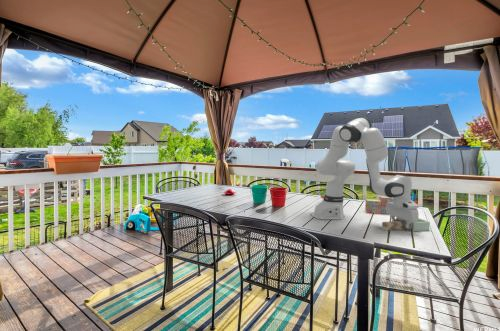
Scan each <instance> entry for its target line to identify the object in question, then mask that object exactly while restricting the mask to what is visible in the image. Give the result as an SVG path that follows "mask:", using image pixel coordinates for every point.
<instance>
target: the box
mask: <svg viewBox="0 0 500 331" xmlns="http://www.w3.org/2000/svg"><path fill="white" fill-rule="evenodd" d="M396 218H398V217H396V216H395V219H396ZM399 219H401V218H399ZM402 220H403V219H402ZM430 225H431V222H430V221H428V220H425V219H422V218H419V217H418V221H417V222H415V223H413V229H411V231H412V232H427V231H430Z"/></svg>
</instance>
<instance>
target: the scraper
mask: <svg viewBox="0 0 500 331" xmlns="http://www.w3.org/2000/svg"><path fill="white" fill-rule="evenodd" d="M395 220H396V221H392V220H391V221H390V220H389V221H382V223H381V224H382V226H381V229H382V230H385V231H396V230H397V231H398V230H404V231H408V232H410V231H412V229H411V224H410V225H409V228H405V227H404V225H405V224H406V223H407V222H406V221H404V220H402V219H399V218H396V217H395Z"/></svg>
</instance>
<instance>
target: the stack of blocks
mask: <svg viewBox="0 0 500 331" xmlns="http://www.w3.org/2000/svg"><path fill="white" fill-rule="evenodd" d="M378 196H379V197H378V199H374V198H373V199H372V198H371V199H369V198H365V207H364V209H365V210H364V211H365V213H367V214H373V213H374V214H377V215H387V213H386V206H387V203H388V200H389V199H392V200H393V198H389V197H386V196H382V195H378ZM388 215H389V216H391V215H390V214H388Z"/></svg>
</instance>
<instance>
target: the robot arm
mask: <svg viewBox="0 0 500 331" xmlns="http://www.w3.org/2000/svg"><path fill="white" fill-rule="evenodd" d="M358 142H361V143H362V145H363V148H364V152H365V154H366V155H365V156H366V159H365V160H366V162H365V163H366V167H367V172H368V177H369V190H370V192H371V193H372V194H374V195H378V196H386V197H389V198H393V200H392V199H389V200H388V203H387V206H386V213H387V214H390V215H389V216H390V218H391V221H396V217H398V218H401V219H404V220H406V222H407V223H406V224H405V225H404V227H405V228H409V225H410V224H411V222H412V223H413V222H417V221H418V218H419V216H420V215H419V204H417V203H416V202H414V201H413V200H412V196H411V193H412V188H413V187H412V186H413V185H412V179H411V177H410V176H408V175H405V174H396V175H395V176H394V177H392V178H390V179H384V178H383V177H382V176H381V172H380V167H379V164H380V163H381V162H383V161H384V160H386V159H387V157H388V156H389V150H388V146H387V143H386V140H385V138H384V135H383V133H382V132H381V130H380V129H379V128H377V127H373V123H372V121H371V119H369V118H368V117H367V116H358V117H357V118H354V119H352V120H350V121H349V122H347V123H346V124H344V125H339V126H336V127H335V129H334V130H333V133H332V136H331V140H330V144H329V150H328V153H326V155H325V156H324V157H323V158H322V159H320V160H318V161H317V162H316V164H315V171H316V173H317V174H319V175H322V176H330V177H331V176H334V178H333V179H331V180H329V181H328V182H327V183H326V186H325V195H320V198H321V199H323V200H322V201H321V202H319V203H318V204H317V205H315V207H314V209H313V210H314V211H313V212H310V216H312V218H316V219H317V220H343V218H345V213H344V195H343V194H344V187H345V183H346V181H347V179H348V178H350V176H352V175H353V174H354V173H355V171H356V164H355V162H354V161H352V160H348V159H344V158H345V157H346V156H347V154H348V151H349V145H350V143H358ZM387 214H386V215H387Z"/></svg>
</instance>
